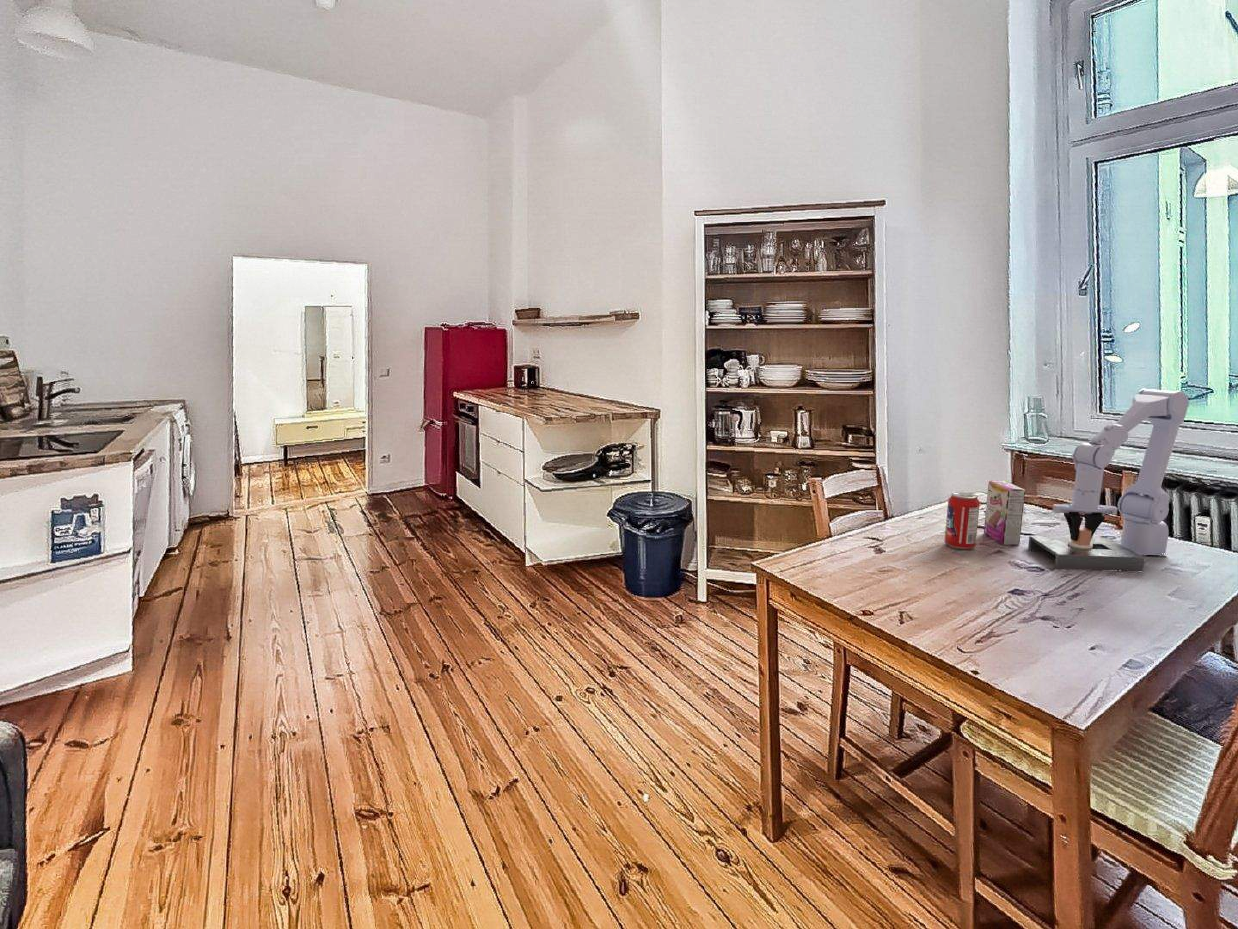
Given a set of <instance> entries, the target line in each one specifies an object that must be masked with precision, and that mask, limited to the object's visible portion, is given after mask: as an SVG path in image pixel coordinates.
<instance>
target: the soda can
mask: <svg viewBox="0 0 1238 929" xmlns="http://www.w3.org/2000/svg"><path fill="white" fill-rule="evenodd" d="M980 505H981V501H980V500H979V498H978V494H975V493H971V492H970V493H969V492H963V491H961V492H958V491H955V492H952V493H951V496H950V497H948V499H947V507H946V508H947V509H946V520H945V531H944V540H943V541H944V544H946V545H947V546H948V547H950V548H952V549H956V550H962V551H963V550H970V549H973V548H975V547H976V544H977V543H976V542H977V537H978V536H977V535H978V524H979V515H980Z"/></svg>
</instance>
